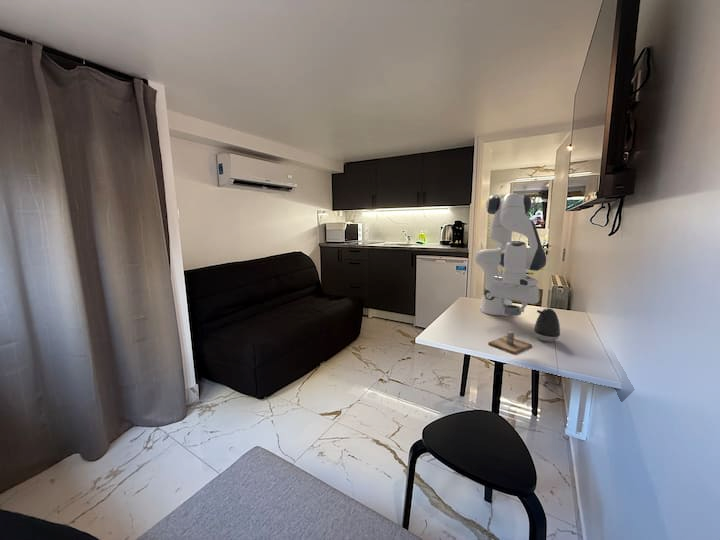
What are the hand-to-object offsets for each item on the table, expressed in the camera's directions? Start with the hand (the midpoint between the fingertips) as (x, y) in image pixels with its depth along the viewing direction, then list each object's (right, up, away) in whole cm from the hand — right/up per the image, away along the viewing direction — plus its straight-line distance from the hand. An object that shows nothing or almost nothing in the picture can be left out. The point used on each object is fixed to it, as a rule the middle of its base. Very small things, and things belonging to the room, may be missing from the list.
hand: (512, 309), depth 129 cm
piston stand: (0, -16, +2) cm, 16 cm away
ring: (0, -2, 0) cm, 2 cm away
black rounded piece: (+20, -15, +8) cm, 27 cm away
